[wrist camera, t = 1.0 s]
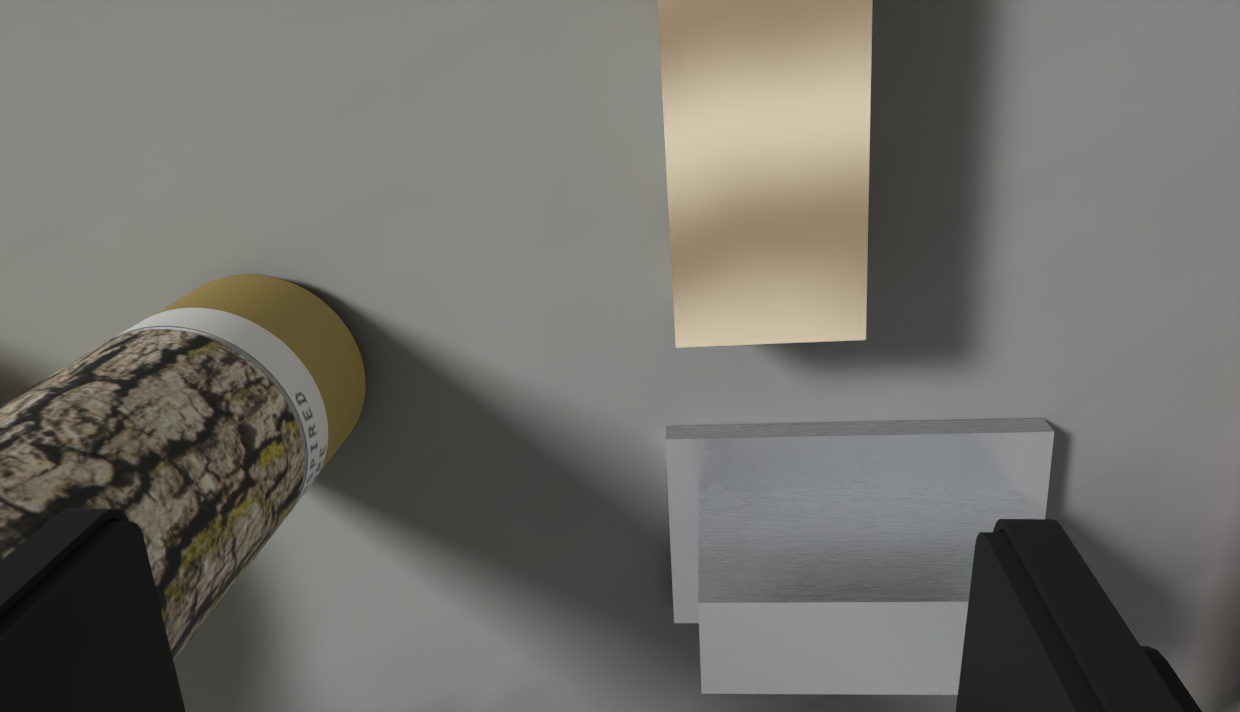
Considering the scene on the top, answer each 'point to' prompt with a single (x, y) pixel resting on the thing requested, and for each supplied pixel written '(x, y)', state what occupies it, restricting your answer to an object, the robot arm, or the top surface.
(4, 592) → the robot arm
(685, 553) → the fulcrum
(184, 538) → the brown bark cylinder
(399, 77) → the top surface
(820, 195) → the beam
